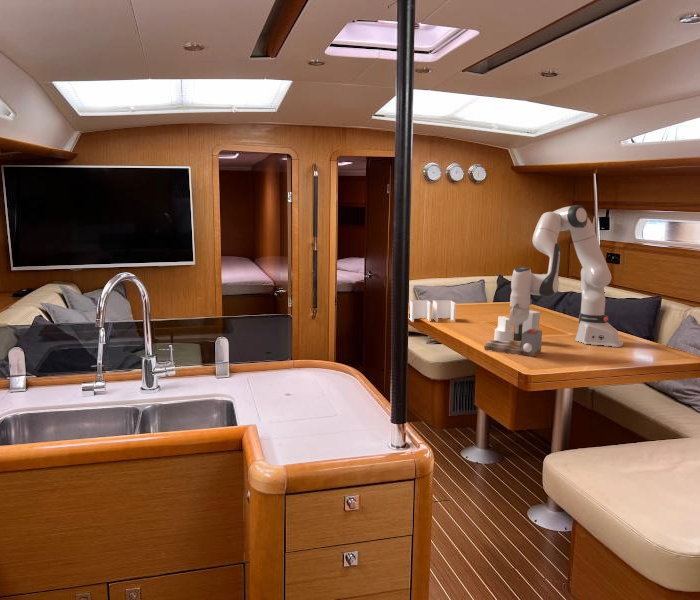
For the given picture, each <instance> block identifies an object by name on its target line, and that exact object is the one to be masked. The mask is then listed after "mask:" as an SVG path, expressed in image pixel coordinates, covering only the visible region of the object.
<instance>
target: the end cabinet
mask: <svg viewBox="0 0 700 600" xmlns="http://www.w3.org/2000/svg"><path fill="white" fill-rule="evenodd" d="M542 339H543V330H536V332H535V333H529V330H527V331H525V332H524V333H522V342H521V352H522V351H524V352H531V353H535V352H536V351H537V350H539V346H540V348H541V349H542ZM538 353H539V352H538ZM536 354H537V352H536ZM539 354H540V353H539ZM524 355H525V356H524V357H529V355H527V356H526V354H524ZM537 355H538V354H537ZM520 356H522V353H521V355H520ZM531 356H534V355H531Z"/></svg>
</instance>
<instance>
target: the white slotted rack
mask: <svg viewBox="0 0 700 600" xmlns="http://www.w3.org/2000/svg"><path fill="white" fill-rule="evenodd" d="M409 300H410V318H409V317H408V319H409V321H411V323H414V322H415V319H417V320H419V318H427V319H428V320H427V319H426V320H427V321H428V322H429V321H431V322H432V320H433V319H434V320H435V321H434V320H433V321H434V322H436V323H439V319H438V318H443V319H444V318H450V319H449V320H451V321H452V320H453V321H452V323H456V316H457V302H454V301H453V300H445V299H444V300H439V299H438V300H434V299H433V300H432V302H431V301H429V300H428V299H418V300H417V299H412V300H411V299H409ZM443 319H442V320H443Z"/></svg>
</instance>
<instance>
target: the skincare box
mask: <svg viewBox="0 0 700 600" xmlns="http://www.w3.org/2000/svg"><path fill="white" fill-rule="evenodd" d="M540 320H541V312H540V311H537V310H532V309H530V311H529V317H528V320H526V321H524V322H523V326H522V333H524V332H525V331H527V330H529V329H535V330H539V328H540Z"/></svg>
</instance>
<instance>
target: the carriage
mask: <svg viewBox="0 0 700 600" xmlns="http://www.w3.org/2000/svg"><path fill="white" fill-rule="evenodd" d="M522 326H523V325H519V333H518V334H516V333H514V332H513V339H512V340H510V341H509V345H511V346H518V347H520V346H521V342H522Z"/></svg>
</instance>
